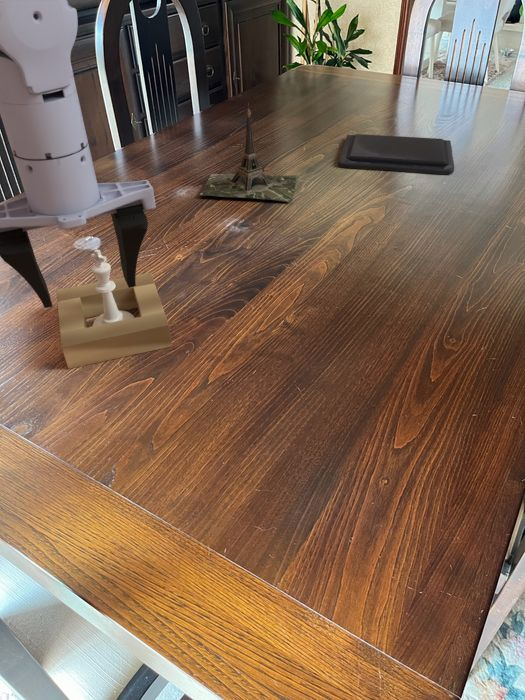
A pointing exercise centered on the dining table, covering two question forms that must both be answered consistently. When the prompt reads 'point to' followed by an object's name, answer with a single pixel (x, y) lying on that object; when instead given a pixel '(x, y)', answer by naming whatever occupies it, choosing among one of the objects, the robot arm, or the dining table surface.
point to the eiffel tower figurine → (250, 178)
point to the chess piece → (106, 291)
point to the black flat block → (397, 154)
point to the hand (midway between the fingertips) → (89, 291)
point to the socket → (112, 337)
